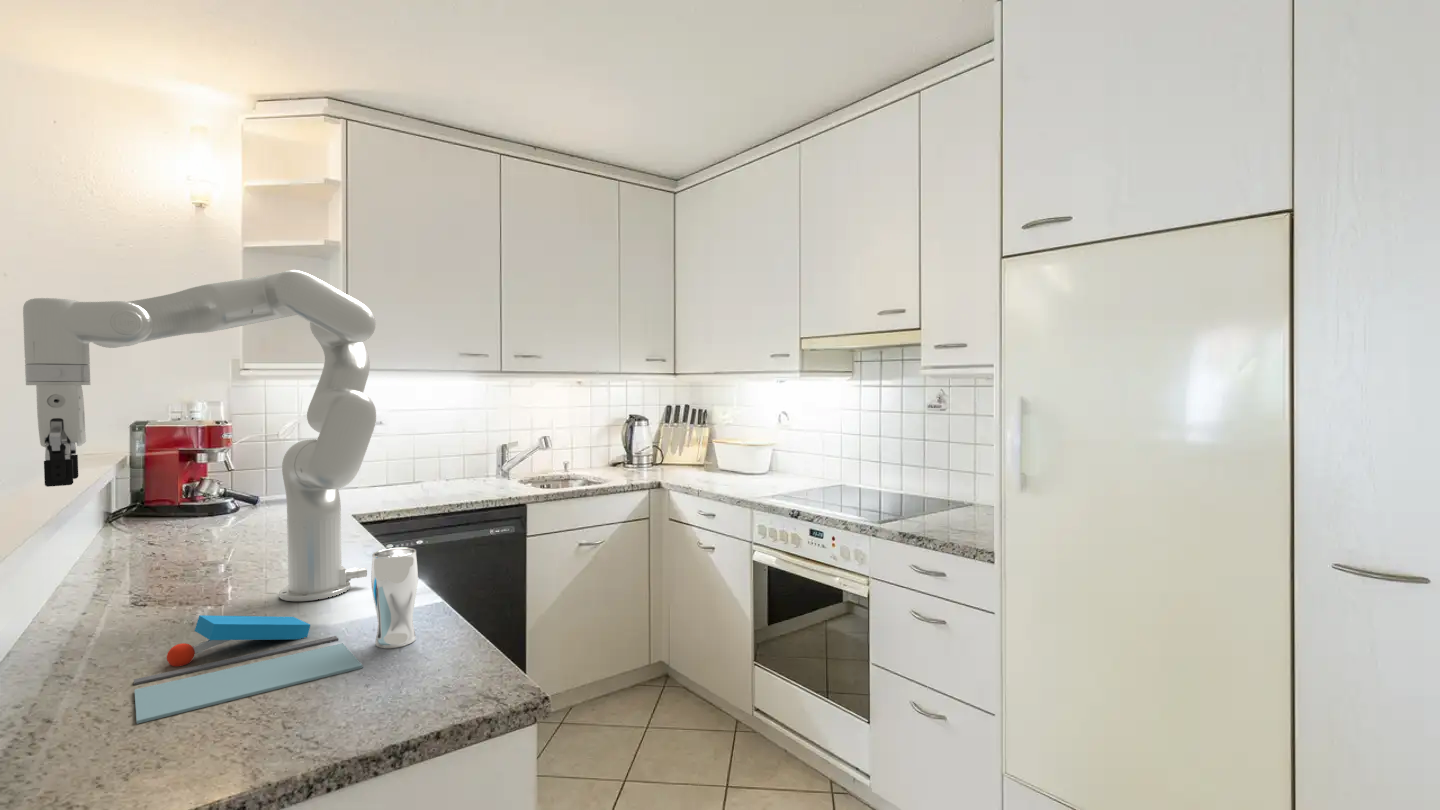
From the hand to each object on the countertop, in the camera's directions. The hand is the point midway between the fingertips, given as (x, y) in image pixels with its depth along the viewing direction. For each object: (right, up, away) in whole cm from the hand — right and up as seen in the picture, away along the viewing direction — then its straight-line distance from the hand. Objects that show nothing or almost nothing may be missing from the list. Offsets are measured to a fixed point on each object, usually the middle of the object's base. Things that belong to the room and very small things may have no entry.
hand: (62, 482), depth 111 cm
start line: (+32, -27, -4) cm, 42 cm away
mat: (+39, -27, -11) cm, 49 cm away
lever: (+28, -28, +1) cm, 39 cm away
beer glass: (+52, -27, +3) cm, 59 cm away
